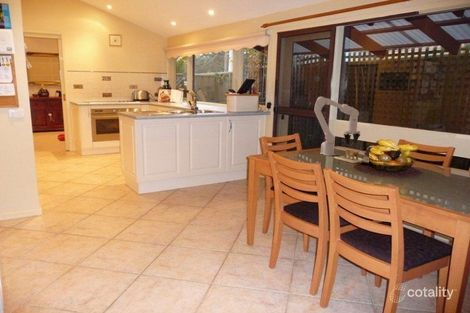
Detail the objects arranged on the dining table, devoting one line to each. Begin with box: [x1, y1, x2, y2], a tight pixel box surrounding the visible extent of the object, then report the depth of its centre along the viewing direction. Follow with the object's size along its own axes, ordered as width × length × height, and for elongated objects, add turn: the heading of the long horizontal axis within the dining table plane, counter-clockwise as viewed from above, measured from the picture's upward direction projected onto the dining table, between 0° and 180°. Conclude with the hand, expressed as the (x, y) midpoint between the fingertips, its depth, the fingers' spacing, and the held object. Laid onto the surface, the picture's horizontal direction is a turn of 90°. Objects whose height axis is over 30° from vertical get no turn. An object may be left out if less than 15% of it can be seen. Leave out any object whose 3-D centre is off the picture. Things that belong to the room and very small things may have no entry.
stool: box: [344, 148, 360, 160], centre depth 248 cm, size 8×5×6 cm, turn 28°
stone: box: [360, 145, 376, 164], centre depth 235 cm, size 14×10×15 cm
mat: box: [333, 155, 363, 164], centre depth 249 cm, size 18×16×1 cm
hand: (351, 143), depth 260 cm, fingers open, 7 cm apart
